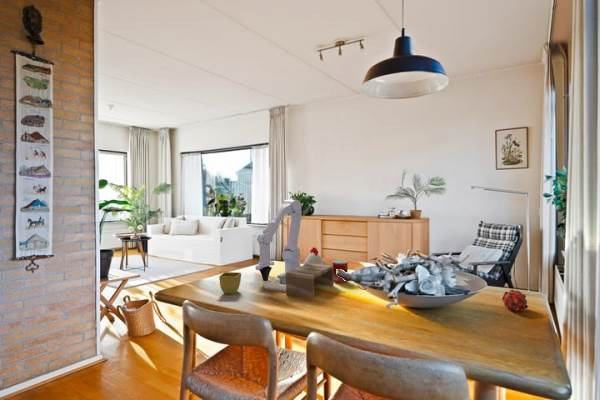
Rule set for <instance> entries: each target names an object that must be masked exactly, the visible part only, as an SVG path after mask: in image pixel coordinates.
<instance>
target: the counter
mask: <svg viewBox="0 0 600 400" xmlns="http://www.w3.org/2000/svg"><path fill="white" fill-rule="evenodd" d="M300 266H301V267H298V268H296V269H294V270H291V271H289V272H286V292H285V294H286V296H292V297H297V298H304V299H309V298H310V299H311V300H314V299H315V285H317V284H318V286H326V287H334V285H335V284H334V283H335V282H334V278H333V264H331V265H330V264H325V265H324V264H314V263H308V264H306V265H300Z"/></svg>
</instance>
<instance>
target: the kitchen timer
mask: <svg viewBox="0 0 600 400" xmlns="http://www.w3.org/2000/svg"><path fill="white" fill-rule="evenodd" d="M309 251H310V252H309V253H310V254H308V256H307V257H305V260H304V261H303V265H306V264H308V263H314V264H324V265H326V261H325V259H324V258H322V256H321V255H320V254H319V250H318V248H316V247H312V248H311V250H309ZM303 265H302V266H303Z"/></svg>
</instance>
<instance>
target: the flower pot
mask: <svg viewBox="0 0 600 400" xmlns="http://www.w3.org/2000/svg"><path fill="white" fill-rule="evenodd" d="M241 279H242V272H239V271H238V272H236V271H235V272H234V271H229V272H228V271H226V272H225V271H224V272H223V273H222V274H220V275H219V277H218V280H219V286H220V289H221V292H222V293H223V294H227V295H228V294H229V295H234V294H236V293H237V291H238V290H239V288H240V286H241V281H242V280H241Z"/></svg>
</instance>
